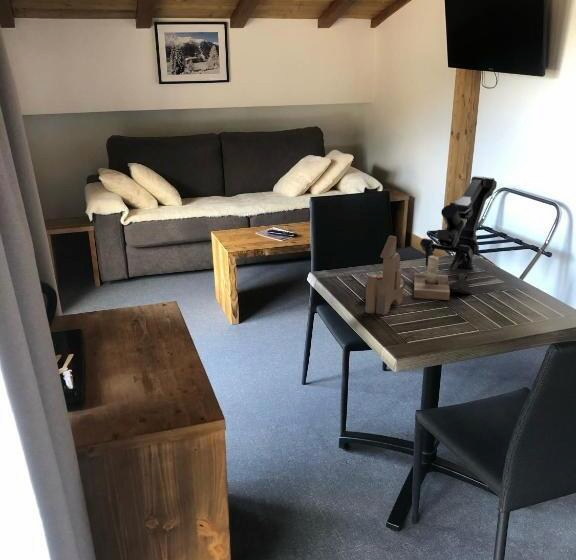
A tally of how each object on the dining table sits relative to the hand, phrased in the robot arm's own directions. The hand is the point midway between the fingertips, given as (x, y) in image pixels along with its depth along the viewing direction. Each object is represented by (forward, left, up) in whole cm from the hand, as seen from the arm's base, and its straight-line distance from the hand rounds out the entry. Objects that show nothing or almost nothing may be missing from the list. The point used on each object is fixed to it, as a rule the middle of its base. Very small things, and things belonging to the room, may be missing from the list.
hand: (438, 268), depth 210 cm
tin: (+15, -18, -7) cm, 24 cm away
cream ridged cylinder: (+5, -2, -7) cm, 9 cm away
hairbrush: (-2, +9, -8) cm, 12 cm away
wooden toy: (+25, -18, -7) cm, 31 cm away
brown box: (+5, -2, -7) cm, 9 cm away
